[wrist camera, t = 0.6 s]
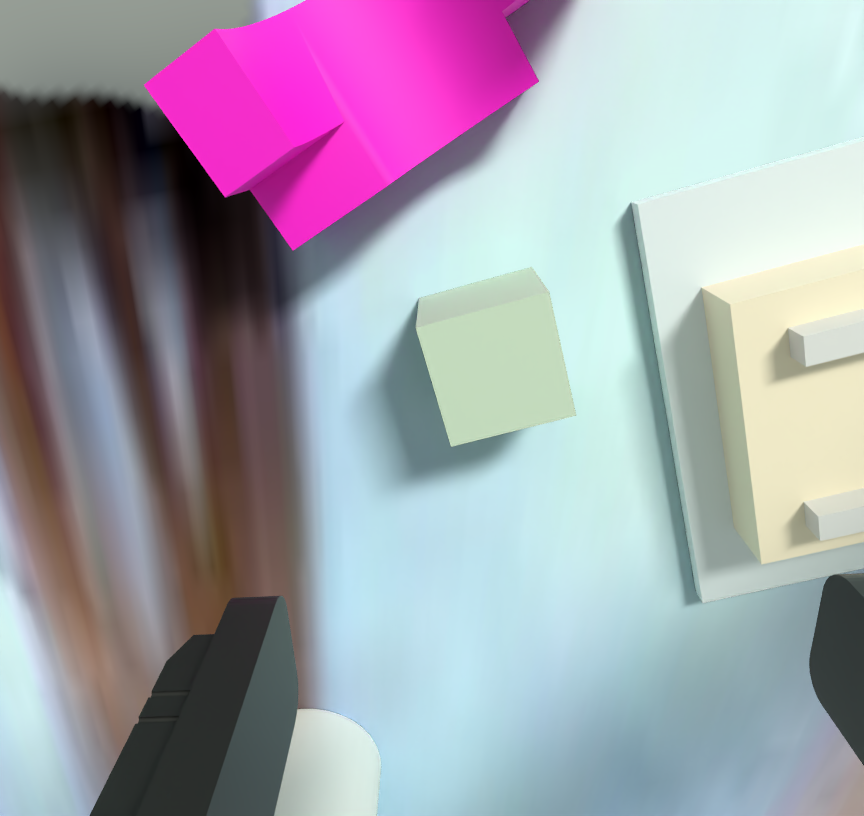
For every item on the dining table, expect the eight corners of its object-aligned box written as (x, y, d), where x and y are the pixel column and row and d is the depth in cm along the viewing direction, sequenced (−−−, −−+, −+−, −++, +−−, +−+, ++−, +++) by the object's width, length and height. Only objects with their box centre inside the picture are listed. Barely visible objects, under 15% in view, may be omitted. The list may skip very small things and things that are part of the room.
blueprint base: (989, 101, 27) (1111, 94, 22) (981, 528, 34) (1071, 594, 29) (631, 202, 28) (670, 216, 23) (695, 590, 35) (736, 663, 30)
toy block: (313, 233, 29) (274, 265, 22) (219, 96, 27) (143, 85, 20) (634, 13, 26) (706, -30, 19) (554, -159, 24) (601, -278, 17)
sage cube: (531, 266, 29) (549, 291, 25) (555, 373, 31) (576, 415, 26) (419, 297, 30) (415, 328, 25) (449, 400, 32) (451, 446, 27)
